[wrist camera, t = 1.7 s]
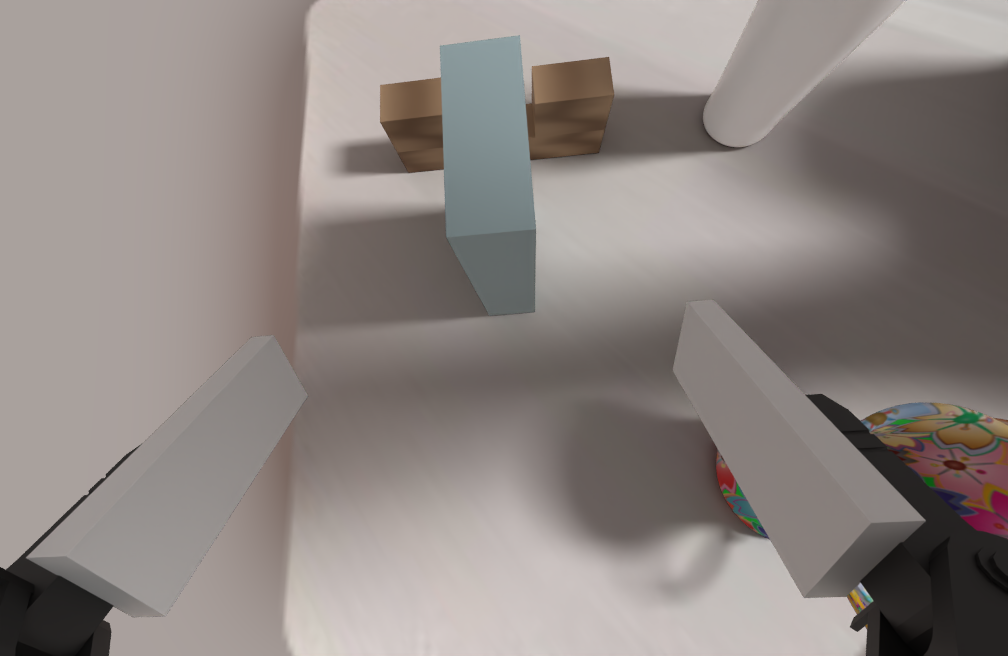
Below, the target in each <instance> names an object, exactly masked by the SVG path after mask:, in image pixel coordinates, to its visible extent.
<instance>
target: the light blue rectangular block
mask: <svg viewBox="0 0 1008 656" xmlns="http://www.w3.org/2000/svg"><path fill="white" fill-rule="evenodd" d="M440 62H441V93H442V124H443V155H444V187H445V218H446V238H447V240H448V242H449V244H450V245H451V247H452V249H453V251H454V253H455V254H456V256H457V258H458V260H459V262H460V263H461V265H462V267H463V269H464V271H465V273H466V274H467V276H468V278H469V280H470V282H471V283H472V285H473V287H474V289H475V291H476V292H477V294H478V296H479V298H480V300H481V301H482V303H483V305H484V307H485V309H486V310H487V312H488V314H489V316H491V315H504V314H517V313H530V312H535V258H536V224H535V212H534V200H533V188H532V176H531V164H530V152H529V140H528V128H527V116H526V104H525V92H524V80H523V68H522V56H521V44H520V35H519V36H511V37H504V38H496V39H488V40H481V41H473V42H465V43H458V44H450V45H442V46H440Z"/></svg>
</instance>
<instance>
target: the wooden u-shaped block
mask: <svg viewBox="0 0 1008 656" xmlns="http://www.w3.org/2000/svg"><path fill="white" fill-rule="evenodd" d="M613 97H614V90H613V82H612V75H611V68H610V61H609V57H605V58H597V59H589V60H580V61H572V62H564V63H556V64H548V65H540V66H532V104H526V116H527V128H528V140H529V152H530V160H534V159H544V158H553V157H563V156H572V155H582V154H591V153H599V149H600V146H601V142H602V138H603V135H604V131H605V127H606V123H607V120H608V116H609V112H610V109H611V105H612V101H613ZM380 123H381V124H382V126H383V128H384V130H385V132H386V133H387V135H388V137H389V139H390V140H391V142H392V144H393V146H394V148H395V149H396V151H397V153H398V155H399V156H400V158H401V160H402V162H403V164H404V165H405V167H406V169H407V171H408V173H411V172H421V171H430V170H440V169H444V155H443V124H442V93H441V78H434V79H426V80H418V81H410V82H402V83H394V84H386V85H380Z"/></svg>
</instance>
